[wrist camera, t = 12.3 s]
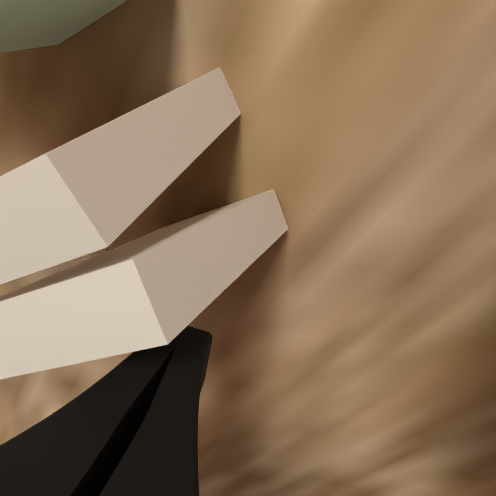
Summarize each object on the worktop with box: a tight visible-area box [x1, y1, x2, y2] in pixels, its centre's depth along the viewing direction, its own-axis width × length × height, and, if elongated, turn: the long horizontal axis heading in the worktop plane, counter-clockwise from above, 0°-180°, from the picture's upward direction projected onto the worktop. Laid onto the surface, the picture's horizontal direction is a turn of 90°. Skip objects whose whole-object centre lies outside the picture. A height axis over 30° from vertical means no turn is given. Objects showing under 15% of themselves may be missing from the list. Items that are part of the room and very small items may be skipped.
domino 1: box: [0, 67, 241, 284], centre depth 11 cm, size 2×5×9 cm, turn 115°
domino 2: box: [0, 189, 288, 379], centre depth 12 cm, size 2×5×9 cm, turn 115°
